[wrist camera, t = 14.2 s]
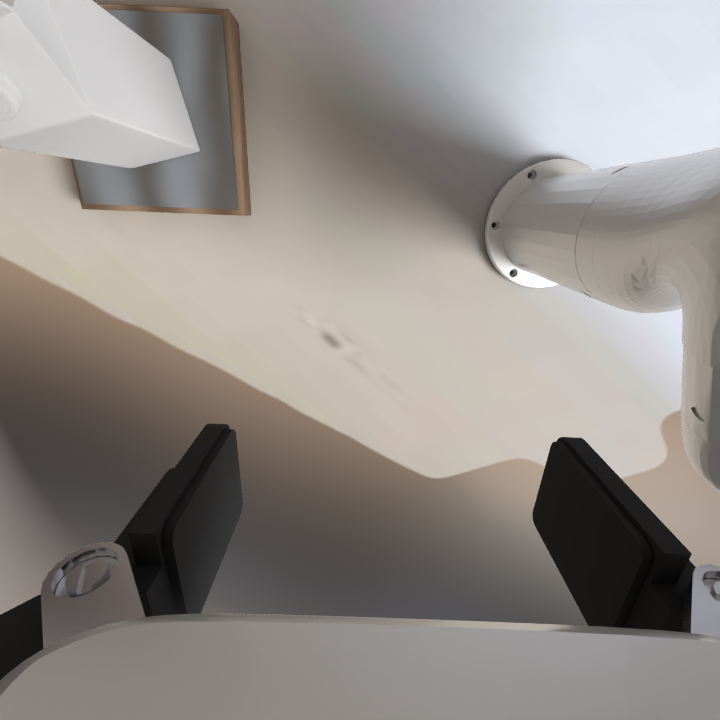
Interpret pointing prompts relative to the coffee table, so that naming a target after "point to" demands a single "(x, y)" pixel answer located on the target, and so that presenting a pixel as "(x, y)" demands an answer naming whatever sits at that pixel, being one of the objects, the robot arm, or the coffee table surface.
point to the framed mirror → (207, 115)
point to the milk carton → (87, 87)
